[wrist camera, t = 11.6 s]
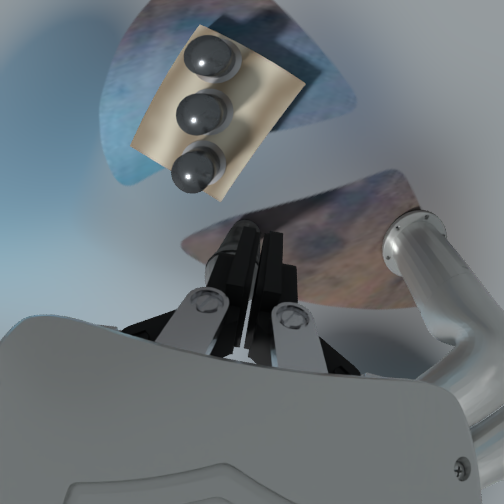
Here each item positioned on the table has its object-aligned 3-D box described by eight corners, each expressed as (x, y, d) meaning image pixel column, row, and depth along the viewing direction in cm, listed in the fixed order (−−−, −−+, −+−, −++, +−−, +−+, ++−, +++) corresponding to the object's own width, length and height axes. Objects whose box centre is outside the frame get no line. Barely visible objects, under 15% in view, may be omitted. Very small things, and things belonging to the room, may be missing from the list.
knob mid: (234, 105, 31) (227, 106, 27) (214, 137, 34) (203, 143, 29) (202, 87, 30) (189, 85, 26) (182, 118, 33) (168, 122, 28)
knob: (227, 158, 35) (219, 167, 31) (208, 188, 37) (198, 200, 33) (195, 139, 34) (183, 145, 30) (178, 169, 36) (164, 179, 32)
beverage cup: (213, 226, 44) (171, 313, 27) (250, 202, 42) (225, 285, 25) (240, 259, 47) (216, 353, 30) (277, 238, 44) (270, 333, 27)
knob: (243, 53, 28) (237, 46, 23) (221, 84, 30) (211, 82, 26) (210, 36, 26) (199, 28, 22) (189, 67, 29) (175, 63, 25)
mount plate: (304, 85, 32) (306, 83, 29) (224, 194, 41) (220, 202, 39) (205, 29, 28) (199, 24, 26) (139, 142, 38) (129, 146, 35)
